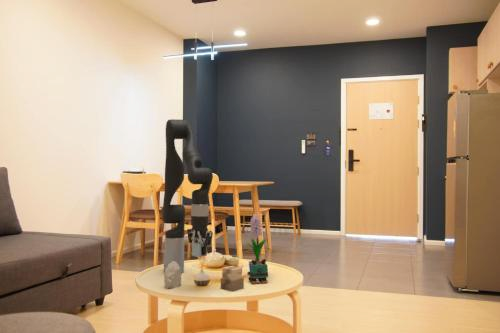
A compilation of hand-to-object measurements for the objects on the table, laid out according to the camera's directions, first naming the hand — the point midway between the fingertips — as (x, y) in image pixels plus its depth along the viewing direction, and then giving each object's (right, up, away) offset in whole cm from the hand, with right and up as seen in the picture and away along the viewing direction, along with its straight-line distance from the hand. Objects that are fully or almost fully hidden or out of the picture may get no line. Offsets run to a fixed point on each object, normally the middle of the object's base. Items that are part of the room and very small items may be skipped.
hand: (199, 254), depth 188 cm
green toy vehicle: (+25, -15, +13) cm, 32 cm away
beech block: (+14, -11, +1) cm, 18 cm away
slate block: (0, -1, 0) cm, 1 cm away
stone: (-12, -15, +3) cm, 19 cm away
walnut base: (+14, -15, +1) cm, 21 cm away
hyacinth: (+26, -15, +20) cm, 36 cm away
